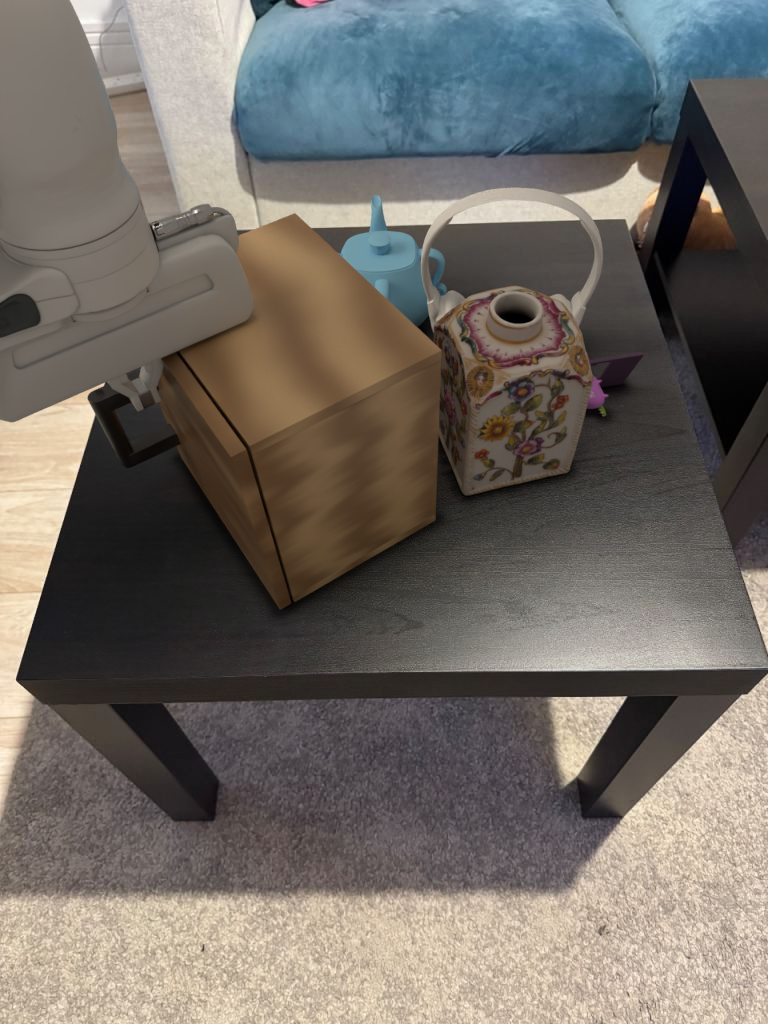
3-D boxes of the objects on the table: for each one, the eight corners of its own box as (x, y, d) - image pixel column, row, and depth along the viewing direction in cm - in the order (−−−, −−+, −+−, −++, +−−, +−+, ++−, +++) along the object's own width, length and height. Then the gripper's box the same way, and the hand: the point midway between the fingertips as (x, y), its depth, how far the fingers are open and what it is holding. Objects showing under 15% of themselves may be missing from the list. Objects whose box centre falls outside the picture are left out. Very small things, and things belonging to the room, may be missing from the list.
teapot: (377, 370, 85) (377, 292, 76) (300, 308, 91) (291, 229, 81) (454, 320, 90) (462, 241, 80) (376, 265, 95) (376, 185, 86)
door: (222, 643, 65) (150, 496, 47) (129, 482, 76) (42, 315, 58) (291, 603, 67) (246, 449, 49) (191, 452, 78) (125, 282, 60)
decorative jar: (428, 417, 80) (431, 278, 65) (529, 395, 81) (554, 254, 66) (462, 501, 73) (474, 368, 58) (572, 476, 74) (610, 339, 60)
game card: (641, 344, 75) (557, 358, 75) (655, 390, 74) (570, 404, 73) (619, 375, 82) (542, 387, 81) (632, 417, 80) (553, 430, 80)
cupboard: (294, 602, 67) (249, 445, 49) (193, 452, 78) (126, 280, 60) (435, 520, 72) (442, 350, 54) (321, 390, 83) (295, 212, 65)
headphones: (422, 329, 88) (424, 170, 72) (577, 335, 86) (614, 173, 70) (418, 371, 84) (418, 212, 68) (581, 378, 82) (621, 217, 66)
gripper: (208, 175, 51) (244, 329, 63) (-90, 282, 45) (9, 432, 56) (250, 216, 48) (280, 371, 60) (-64, 337, 42) (36, 485, 53)
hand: (146, 401), depth 58 cm, fingers closed
